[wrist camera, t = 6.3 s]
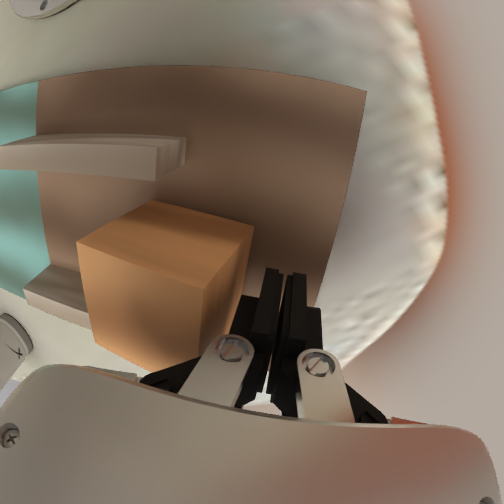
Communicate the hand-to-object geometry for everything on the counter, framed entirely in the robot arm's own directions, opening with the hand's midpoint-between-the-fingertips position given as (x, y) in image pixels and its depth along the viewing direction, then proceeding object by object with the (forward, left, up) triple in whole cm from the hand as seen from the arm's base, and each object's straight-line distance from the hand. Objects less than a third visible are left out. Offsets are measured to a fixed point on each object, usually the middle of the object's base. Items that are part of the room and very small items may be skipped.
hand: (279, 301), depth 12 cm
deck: (-1, -19, -6) cm, 20 cm away
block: (0, -4, -2) cm, 5 cm away
